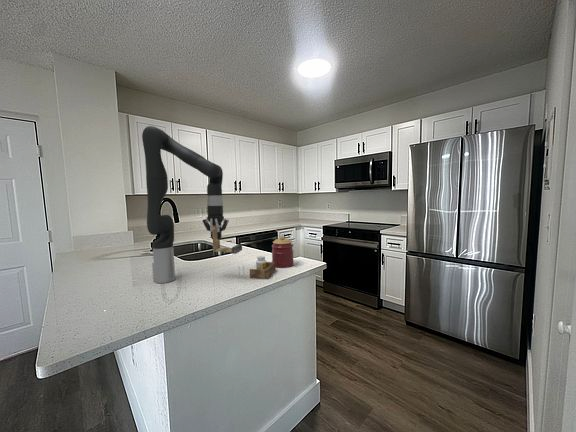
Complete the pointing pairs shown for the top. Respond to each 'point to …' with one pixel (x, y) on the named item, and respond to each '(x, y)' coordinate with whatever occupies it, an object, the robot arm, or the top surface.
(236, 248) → the wooden l-shaped bracket
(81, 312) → the top surface
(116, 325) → the top surface
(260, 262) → the supplement bottle
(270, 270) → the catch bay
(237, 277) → the top surface
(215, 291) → the top surface
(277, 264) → the canister
